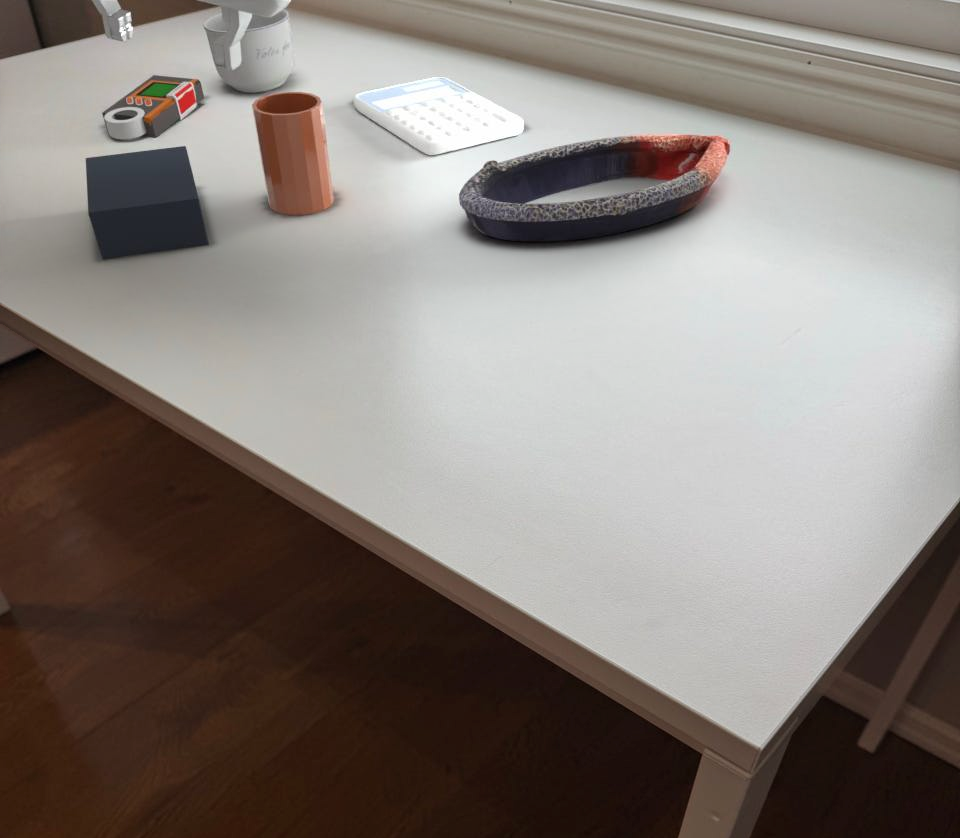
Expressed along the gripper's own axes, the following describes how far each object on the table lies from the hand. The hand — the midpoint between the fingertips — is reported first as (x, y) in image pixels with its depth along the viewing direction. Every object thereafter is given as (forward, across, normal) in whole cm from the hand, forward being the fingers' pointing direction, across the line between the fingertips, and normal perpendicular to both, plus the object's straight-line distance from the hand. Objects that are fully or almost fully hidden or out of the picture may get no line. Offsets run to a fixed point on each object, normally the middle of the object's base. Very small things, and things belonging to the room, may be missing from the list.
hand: (174, 52), depth 77 cm
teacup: (+24, -19, +51) cm, 59 cm away
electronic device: (+24, -26, +34) cm, 49 cm away
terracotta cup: (+19, +3, +15) cm, 25 cm away
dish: (+15, +33, +23) cm, 43 cm away
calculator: (+20, +8, +43) cm, 48 cm away
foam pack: (+20, -9, +7) cm, 23 cm away
